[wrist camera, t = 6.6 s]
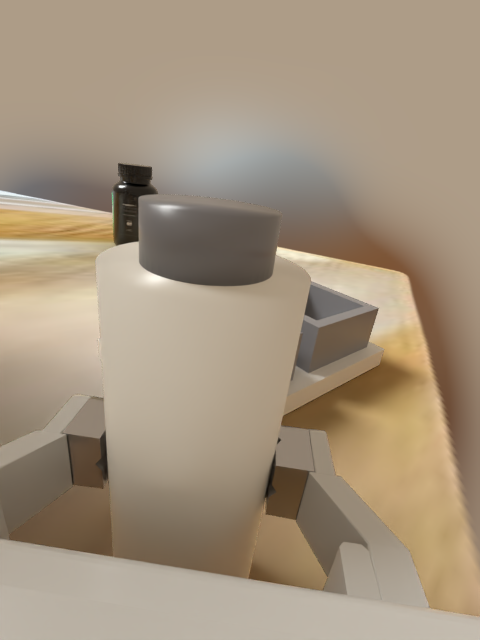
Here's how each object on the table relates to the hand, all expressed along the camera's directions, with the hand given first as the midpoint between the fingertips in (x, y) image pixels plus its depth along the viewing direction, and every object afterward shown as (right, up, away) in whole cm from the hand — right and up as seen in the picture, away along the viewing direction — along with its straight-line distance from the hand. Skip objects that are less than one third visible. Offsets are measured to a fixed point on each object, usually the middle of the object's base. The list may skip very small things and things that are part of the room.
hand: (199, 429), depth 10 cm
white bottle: (-1, -6, +2) cm, 7 cm away
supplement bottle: (-16, +15, +46) cm, 51 cm away
